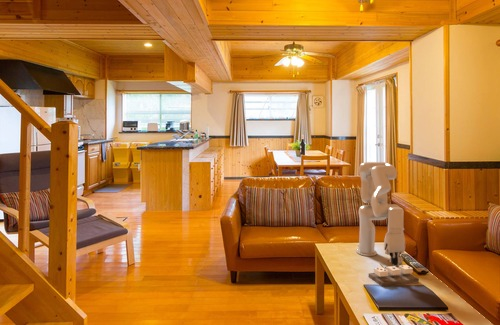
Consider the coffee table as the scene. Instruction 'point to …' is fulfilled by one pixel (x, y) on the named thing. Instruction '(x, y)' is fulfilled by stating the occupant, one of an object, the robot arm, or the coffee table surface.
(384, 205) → the robot arm
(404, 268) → the two pip cube
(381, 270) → the three dot tile
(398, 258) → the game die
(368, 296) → the coffee table surface
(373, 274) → the brown board
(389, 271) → the single pip block
